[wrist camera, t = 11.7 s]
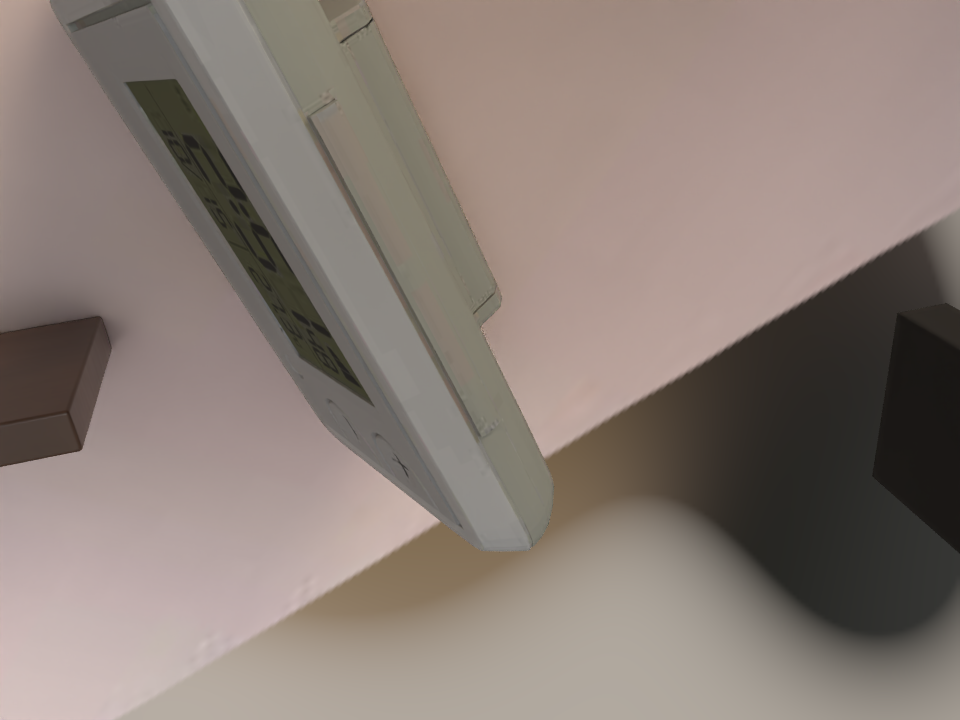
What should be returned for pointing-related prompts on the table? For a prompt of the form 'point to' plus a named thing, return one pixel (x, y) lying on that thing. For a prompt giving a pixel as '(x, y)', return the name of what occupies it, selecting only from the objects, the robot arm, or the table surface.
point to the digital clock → (332, 235)
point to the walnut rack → (49, 388)
